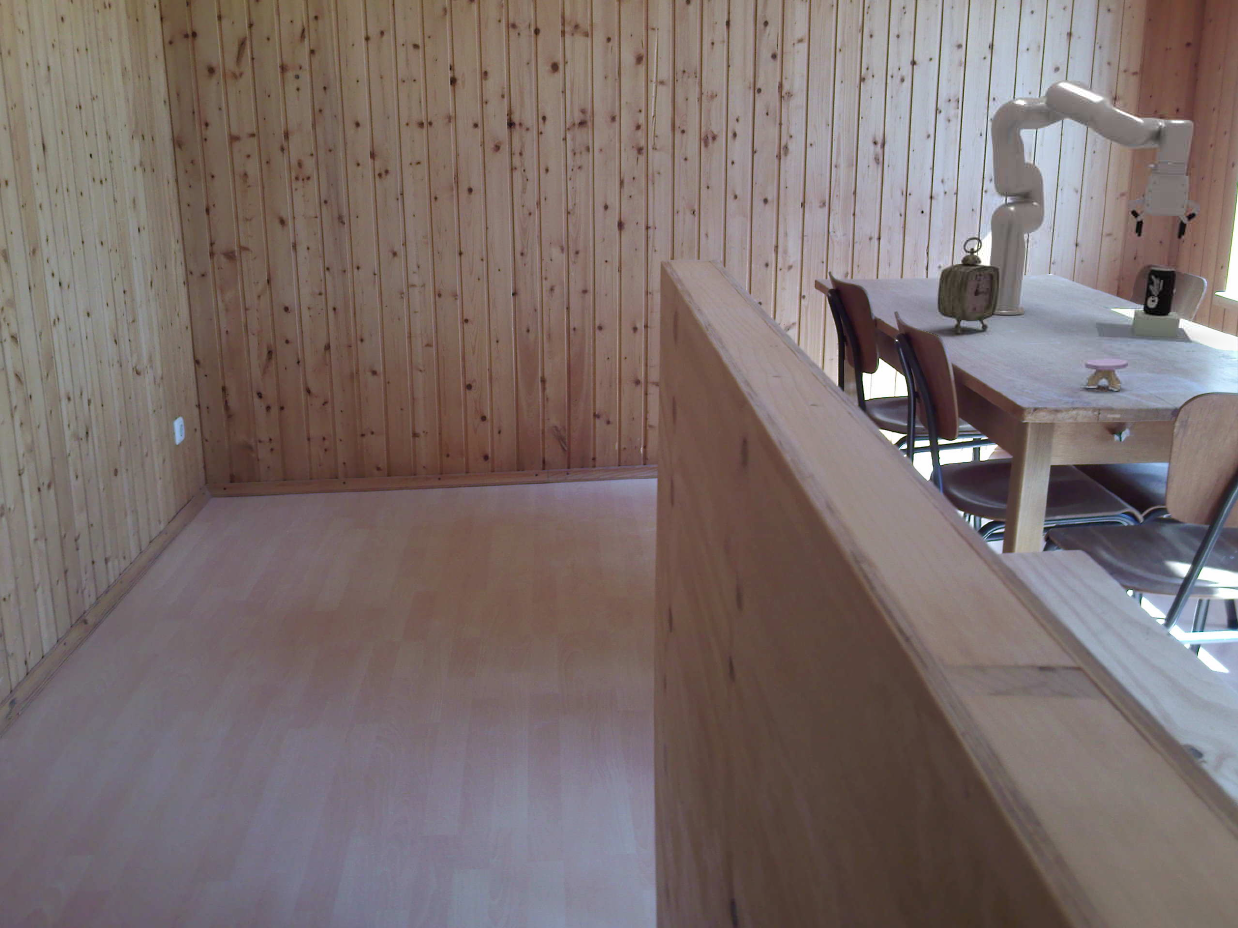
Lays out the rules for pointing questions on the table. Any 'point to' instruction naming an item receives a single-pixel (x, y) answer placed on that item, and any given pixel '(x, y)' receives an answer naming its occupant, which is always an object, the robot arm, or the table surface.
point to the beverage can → (1159, 291)
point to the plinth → (1155, 324)
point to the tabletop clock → (968, 290)
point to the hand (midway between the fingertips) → (1158, 237)
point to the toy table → (1105, 371)
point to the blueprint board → (1128, 332)
